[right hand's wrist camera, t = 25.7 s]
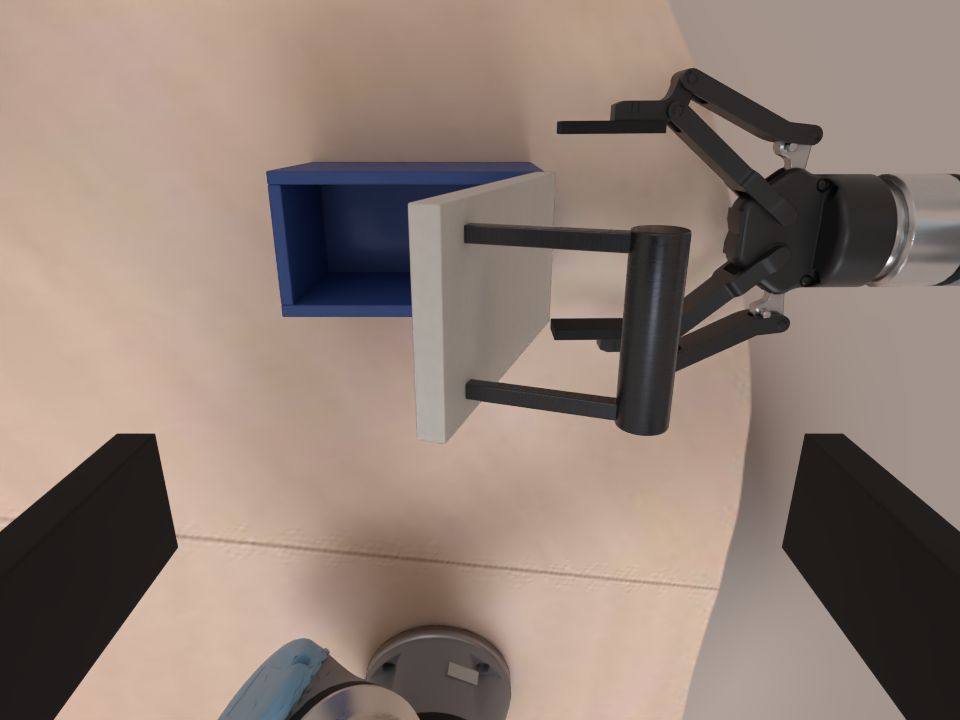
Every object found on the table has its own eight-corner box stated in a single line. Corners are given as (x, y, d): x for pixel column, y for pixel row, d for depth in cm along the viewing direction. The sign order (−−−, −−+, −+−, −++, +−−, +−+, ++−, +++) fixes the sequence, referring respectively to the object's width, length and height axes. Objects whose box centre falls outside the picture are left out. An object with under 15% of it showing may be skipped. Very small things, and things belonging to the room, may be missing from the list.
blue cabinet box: (322, 279, 51) (282, 317, 41) (311, 162, 48) (265, 171, 38) (527, 279, 51) (539, 317, 41) (531, 162, 48) (544, 171, 38)
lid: (416, 439, 25) (661, 481, 22) (406, 202, 22) (692, 214, 19) (531, 319, 40) (682, 333, 38) (535, 171, 37) (701, 175, 34)
